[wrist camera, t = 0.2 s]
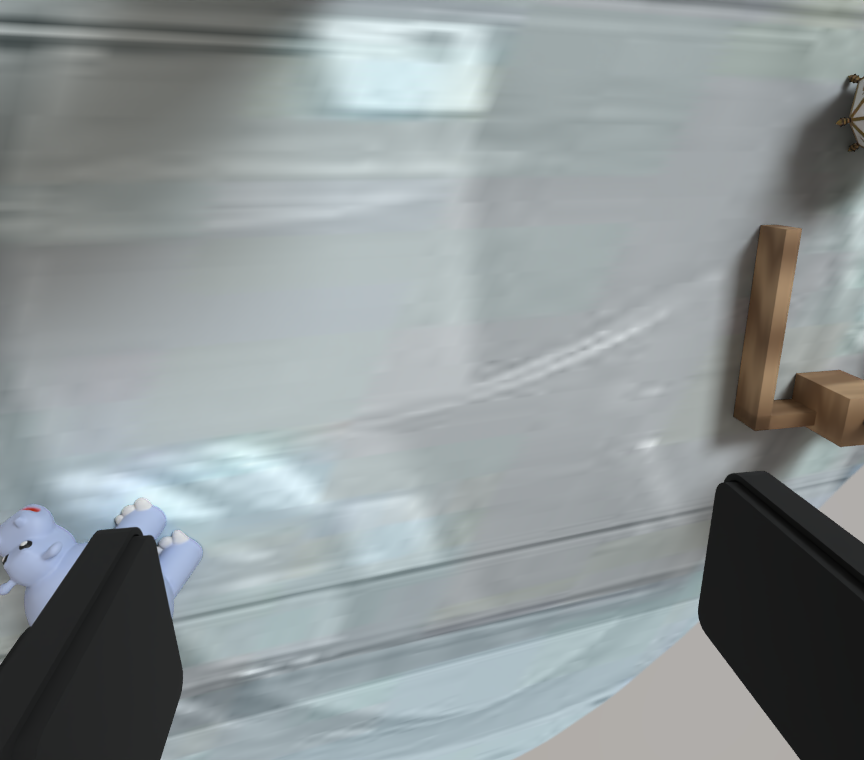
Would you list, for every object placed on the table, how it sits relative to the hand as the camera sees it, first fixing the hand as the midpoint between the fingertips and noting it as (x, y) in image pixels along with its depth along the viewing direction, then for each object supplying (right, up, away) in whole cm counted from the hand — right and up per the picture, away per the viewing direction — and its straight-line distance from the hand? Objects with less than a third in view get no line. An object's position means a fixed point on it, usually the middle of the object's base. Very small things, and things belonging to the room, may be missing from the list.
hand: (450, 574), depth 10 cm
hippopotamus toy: (-26, -10, +40) cm, 49 cm away
